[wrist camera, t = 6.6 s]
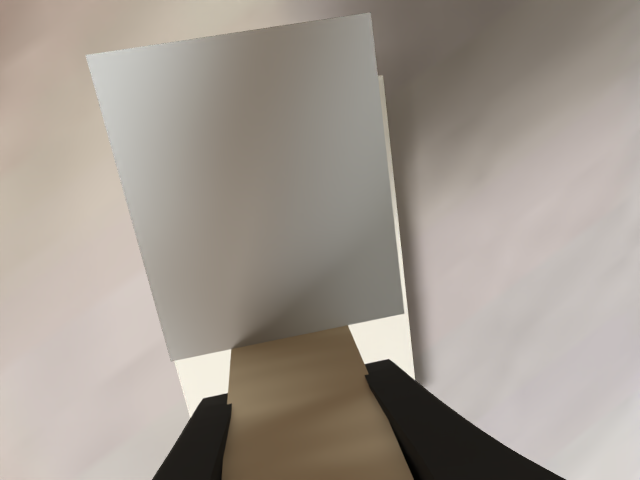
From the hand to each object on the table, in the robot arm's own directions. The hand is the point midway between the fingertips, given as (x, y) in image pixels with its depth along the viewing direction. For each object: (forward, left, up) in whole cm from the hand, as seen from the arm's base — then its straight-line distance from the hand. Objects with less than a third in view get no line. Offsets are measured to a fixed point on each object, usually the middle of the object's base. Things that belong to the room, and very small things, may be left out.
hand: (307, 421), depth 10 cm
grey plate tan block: (0, 0, -2) cm, 2 cm away
